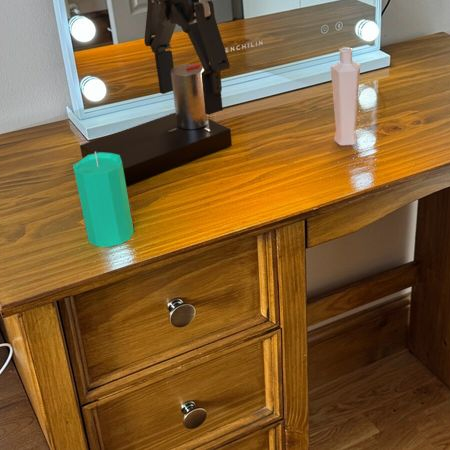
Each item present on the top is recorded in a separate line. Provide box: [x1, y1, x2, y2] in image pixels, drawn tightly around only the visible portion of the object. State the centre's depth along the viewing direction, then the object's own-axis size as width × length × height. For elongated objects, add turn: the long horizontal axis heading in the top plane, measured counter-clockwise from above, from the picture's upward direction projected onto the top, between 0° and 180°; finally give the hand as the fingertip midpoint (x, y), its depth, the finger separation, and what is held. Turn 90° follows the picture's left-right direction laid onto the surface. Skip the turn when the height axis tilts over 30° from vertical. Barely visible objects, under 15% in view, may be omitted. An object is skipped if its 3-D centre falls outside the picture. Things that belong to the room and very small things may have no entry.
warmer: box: [79, 111, 233, 188], centre depth 120 cm, size 22×12×3 cm, turn 132°
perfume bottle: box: [330, 46, 361, 146], centre depth 119 cm, size 5×4×15 cm
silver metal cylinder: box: [171, 62, 209, 129], centre depth 121 cm, size 5×5×9 cm
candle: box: [72, 152, 135, 248], centre depth 97 cm, size 6×6×12 cm
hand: (190, 101), depth 121 cm, fingers open, 12 cm apart
